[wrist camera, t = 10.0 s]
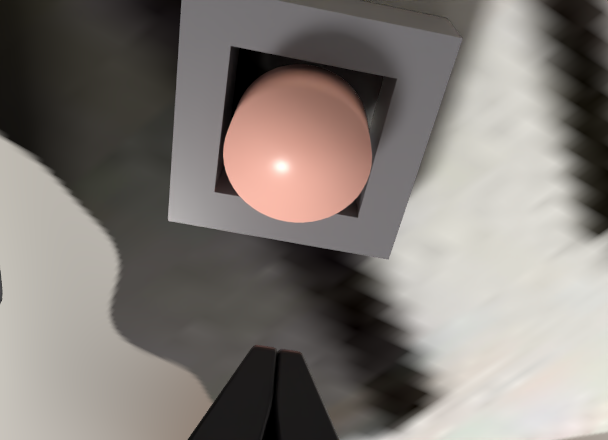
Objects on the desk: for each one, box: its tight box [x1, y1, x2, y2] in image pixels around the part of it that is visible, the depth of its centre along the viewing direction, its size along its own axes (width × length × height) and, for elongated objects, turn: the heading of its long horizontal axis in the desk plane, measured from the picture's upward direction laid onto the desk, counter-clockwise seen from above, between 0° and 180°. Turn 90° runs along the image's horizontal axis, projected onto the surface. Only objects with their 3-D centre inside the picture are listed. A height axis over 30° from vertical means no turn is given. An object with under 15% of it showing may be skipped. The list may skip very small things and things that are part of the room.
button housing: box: [168, 0, 463, 259], centre depth 19 cm, size 8×8×2 cm
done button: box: [223, 64, 372, 223], centre depth 17 cm, size 4×4×2 cm
